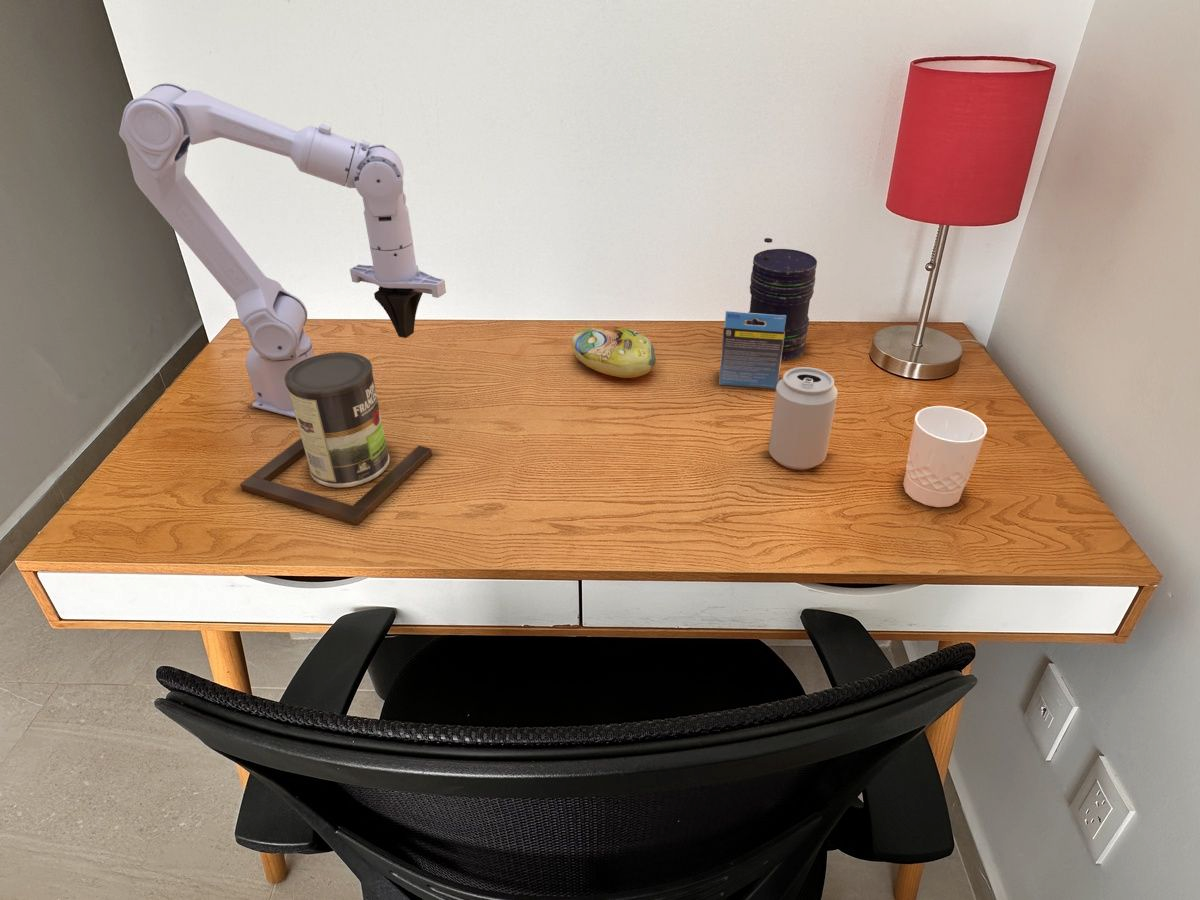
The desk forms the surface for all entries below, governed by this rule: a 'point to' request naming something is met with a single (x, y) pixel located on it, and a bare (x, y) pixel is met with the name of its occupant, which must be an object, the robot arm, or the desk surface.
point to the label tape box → (751, 350)
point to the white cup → (942, 454)
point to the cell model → (614, 351)
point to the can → (802, 418)
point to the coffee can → (338, 418)
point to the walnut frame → (326, 506)
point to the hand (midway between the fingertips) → (406, 334)
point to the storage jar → (784, 293)
